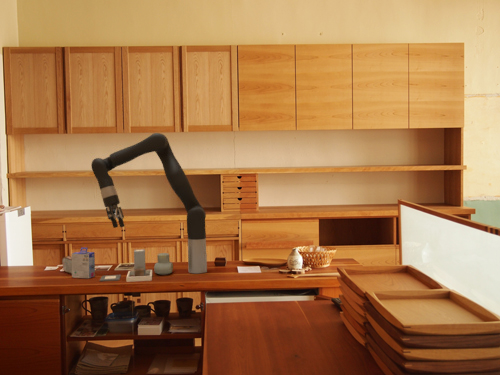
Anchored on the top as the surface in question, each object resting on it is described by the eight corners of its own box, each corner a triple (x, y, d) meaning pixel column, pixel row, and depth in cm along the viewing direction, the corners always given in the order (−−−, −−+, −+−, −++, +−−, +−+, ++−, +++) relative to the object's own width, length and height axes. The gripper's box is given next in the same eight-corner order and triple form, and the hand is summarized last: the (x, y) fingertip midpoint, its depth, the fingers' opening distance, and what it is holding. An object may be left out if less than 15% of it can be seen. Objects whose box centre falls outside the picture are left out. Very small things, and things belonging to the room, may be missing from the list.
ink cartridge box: (95, 276, 228) (95, 247, 228) (89, 278, 223) (88, 249, 222) (78, 275, 230) (77, 246, 230) (71, 278, 225) (70, 248, 224)
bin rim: (152, 273, 231) (152, 269, 231) (151, 280, 218) (151, 275, 218) (128, 275, 229) (128, 270, 229) (126, 281, 216) (126, 277, 216)
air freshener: (170, 276, 226) (169, 256, 226) (153, 276, 226) (153, 256, 226) (173, 270, 237) (173, 251, 237) (157, 271, 237) (157, 252, 237)
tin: (80, 275, 231) (80, 258, 231) (74, 276, 229) (74, 259, 228) (67, 270, 241) (66, 254, 241) (61, 271, 239) (60, 255, 239)
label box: (145, 275, 229) (144, 249, 228) (145, 277, 224) (144, 251, 223) (135, 275, 228) (134, 249, 227) (134, 278, 223) (133, 251, 223)
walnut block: (143, 278, 223) (143, 268, 223) (143, 280, 219) (143, 270, 219) (135, 278, 222) (135, 268, 222) (134, 280, 218) (134, 270, 218)
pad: (121, 275, 228) (120, 274, 228) (119, 280, 219) (119, 279, 219) (102, 276, 226) (102, 275, 226) (99, 281, 217) (99, 280, 217)
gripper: (111, 193, 223) (120, 225, 221) (122, 194, 237) (131, 224, 235) (97, 198, 223) (106, 230, 222) (108, 199, 237) (117, 229, 236)
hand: (119, 227), depth 229 cm, fingers open, 8 cm apart
